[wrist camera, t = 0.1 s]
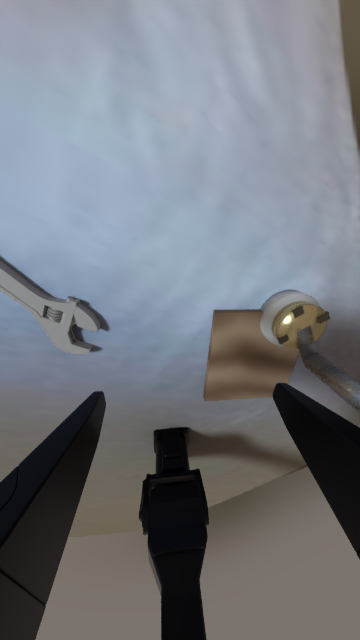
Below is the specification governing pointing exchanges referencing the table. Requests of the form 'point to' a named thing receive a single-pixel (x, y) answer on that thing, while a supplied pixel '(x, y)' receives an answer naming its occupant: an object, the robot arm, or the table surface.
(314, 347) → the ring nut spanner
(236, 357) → the brown wooden board
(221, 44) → the table surface
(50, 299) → the adjustable wrench
